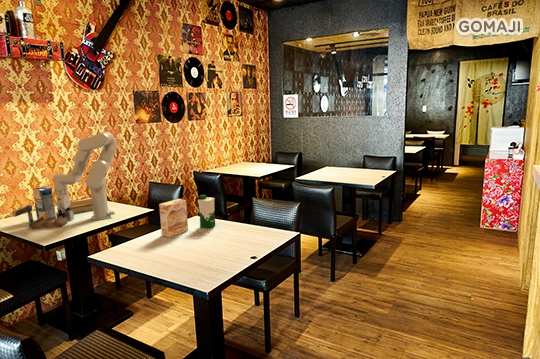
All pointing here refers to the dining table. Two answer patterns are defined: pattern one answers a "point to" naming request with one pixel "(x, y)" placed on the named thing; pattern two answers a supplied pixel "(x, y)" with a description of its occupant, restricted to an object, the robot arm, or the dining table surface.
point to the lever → (22, 210)
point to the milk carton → (206, 212)
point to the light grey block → (67, 215)
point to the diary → (81, 206)
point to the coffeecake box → (173, 217)
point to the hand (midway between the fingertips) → (65, 216)
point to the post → (30, 218)
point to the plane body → (49, 223)
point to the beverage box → (44, 202)
